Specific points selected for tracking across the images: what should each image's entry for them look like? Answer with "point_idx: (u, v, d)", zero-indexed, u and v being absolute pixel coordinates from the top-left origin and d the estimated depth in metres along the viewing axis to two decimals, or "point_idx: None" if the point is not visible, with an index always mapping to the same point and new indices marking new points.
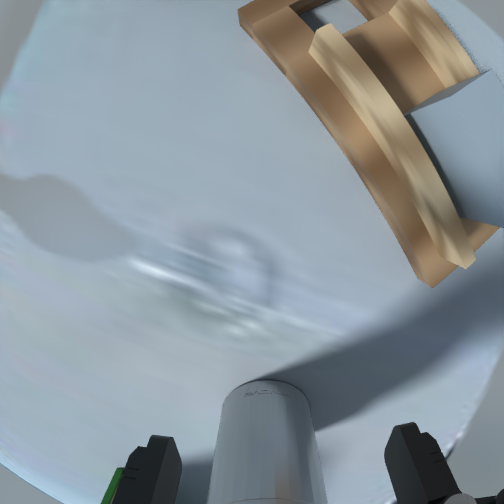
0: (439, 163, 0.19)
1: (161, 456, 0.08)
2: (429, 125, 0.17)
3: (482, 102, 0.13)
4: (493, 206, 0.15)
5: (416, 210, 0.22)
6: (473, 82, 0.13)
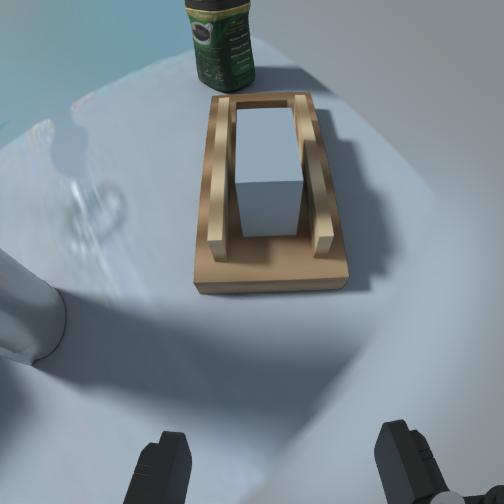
0: None
1: (173, 452, 0.08)
2: None
3: (261, 117, 0.26)
4: None
5: None
6: (263, 108, 0.27)
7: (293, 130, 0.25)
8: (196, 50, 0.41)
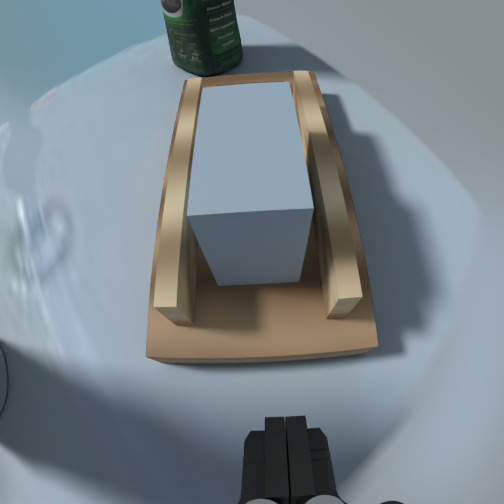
0: None
1: (283, 435, 0.09)
2: None
3: (240, 97, 0.16)
4: None
5: None
6: (244, 84, 0.16)
7: (293, 116, 0.15)
8: (167, 27, 0.30)
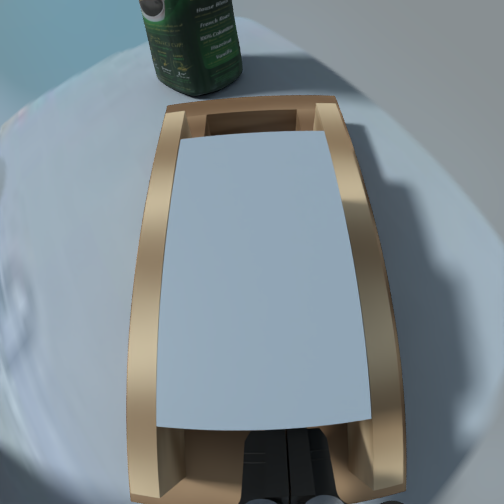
0: None
1: (283, 435, 0.09)
2: None
3: (244, 161, 0.10)
4: None
5: None
6: (250, 134, 0.10)
7: (337, 209, 0.09)
8: (148, 33, 0.24)
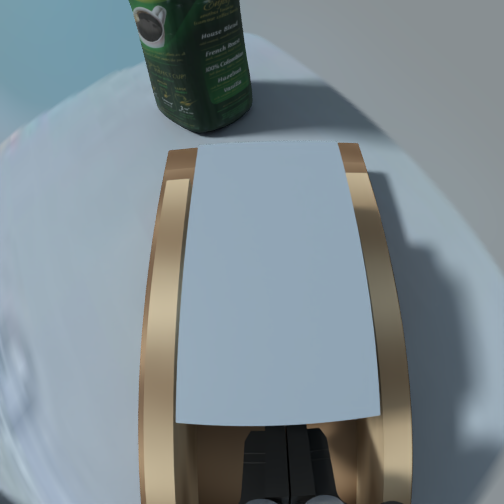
0: None
1: (283, 435, 0.09)
2: None
3: (261, 169, 0.10)
4: None
5: None
6: (266, 142, 0.11)
7: (350, 217, 0.09)
8: (146, 59, 0.22)
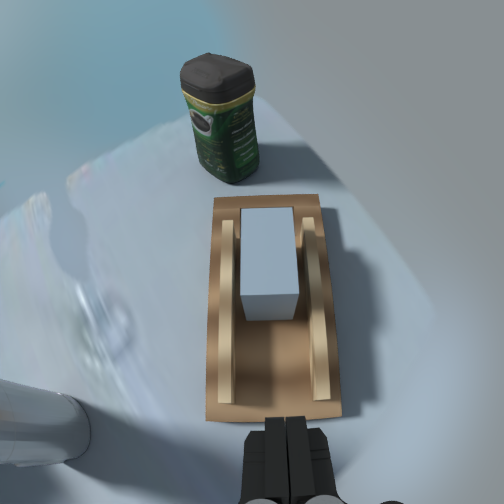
0: None
1: (283, 435, 0.09)
2: None
3: (264, 219, 0.30)
4: None
5: None
6: (266, 208, 0.31)
7: (292, 236, 0.29)
8: (196, 137, 0.42)
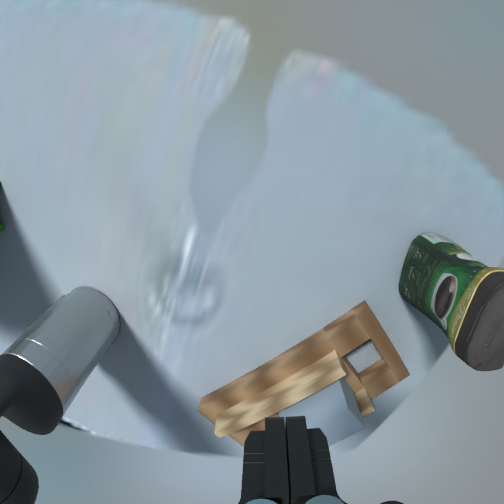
0: None
1: (283, 435, 0.09)
2: (332, 391, 0.35)
3: (346, 422, 0.31)
4: None
5: (242, 401, 0.40)
6: (356, 418, 0.31)
7: (340, 439, 0.32)
8: (432, 268, 0.30)
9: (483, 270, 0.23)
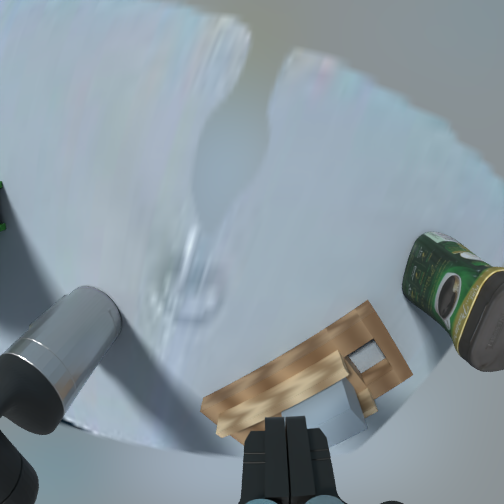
0: None
1: (283, 435, 0.09)
2: (334, 391, 0.34)
3: (348, 423, 0.31)
4: None
5: (244, 401, 0.40)
6: (358, 419, 0.31)
7: (343, 440, 0.32)
8: (436, 267, 0.29)
9: (487, 269, 0.22)
